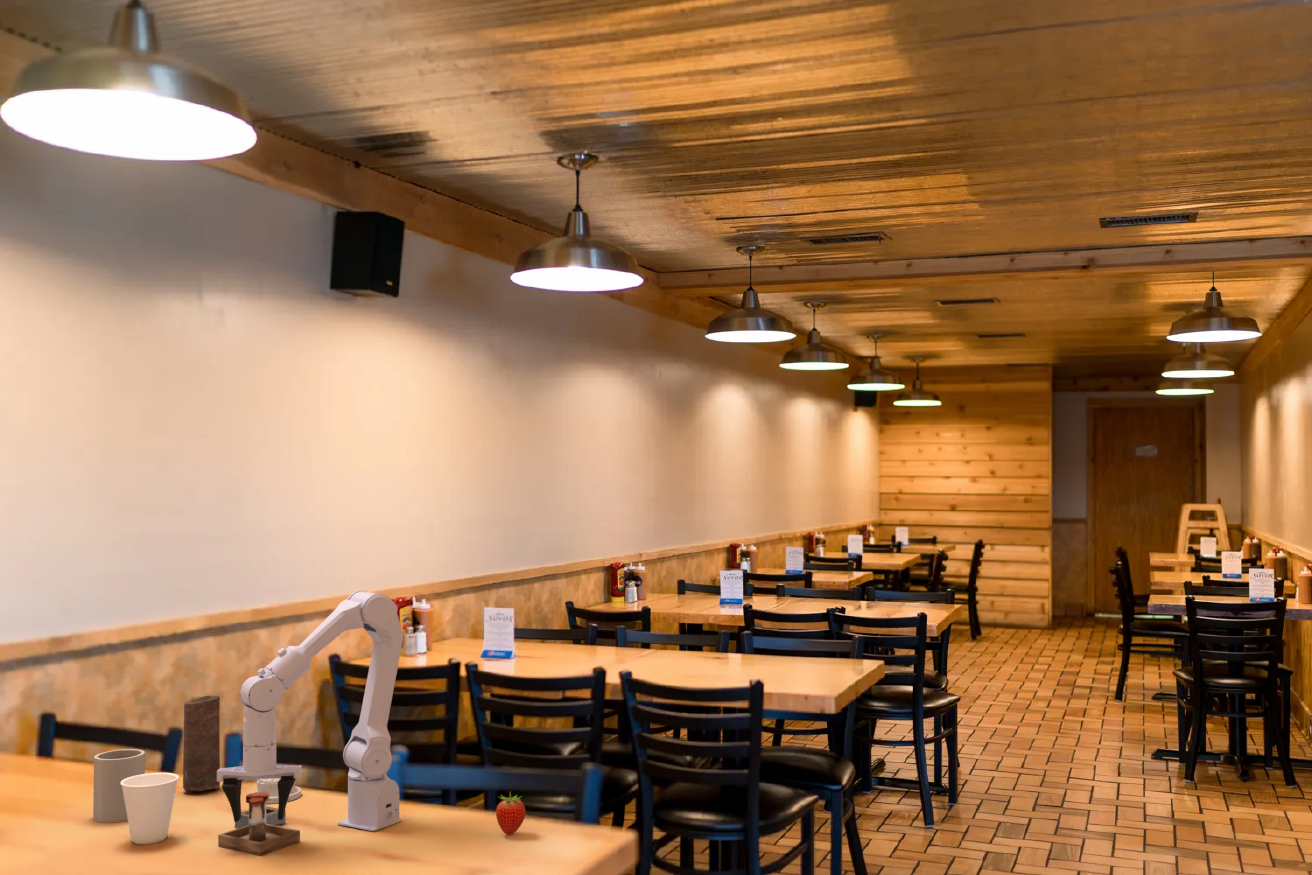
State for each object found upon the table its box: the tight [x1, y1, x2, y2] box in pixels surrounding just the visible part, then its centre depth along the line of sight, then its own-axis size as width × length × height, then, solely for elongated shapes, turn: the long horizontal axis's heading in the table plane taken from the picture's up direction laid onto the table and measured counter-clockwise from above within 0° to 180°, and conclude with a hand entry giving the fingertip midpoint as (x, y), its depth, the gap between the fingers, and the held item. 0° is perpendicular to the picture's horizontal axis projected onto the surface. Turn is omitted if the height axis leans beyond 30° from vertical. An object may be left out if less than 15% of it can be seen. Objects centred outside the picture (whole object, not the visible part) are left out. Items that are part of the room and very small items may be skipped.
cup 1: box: [92, 748, 146, 824], centre depth 227 cm, size 9×9×12 cm
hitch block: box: [234, 805, 287, 829], centre depth 219 cm, size 6×6×2 cm
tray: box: [217, 824, 301, 856], centre depth 208 cm, size 11×9×2 cm
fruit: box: [495, 791, 526, 836], centre depth 212 cm, size 5×5×8 cm
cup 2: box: [120, 772, 180, 845], centre depth 211 cm, size 10×10×11 cm
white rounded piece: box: [251, 778, 302, 805], centre depth 239 cm, size 10×4×10 cm
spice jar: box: [245, 792, 269, 842], centre depth 209 cm, size 4×4×8 cm
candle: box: [182, 694, 221, 793], centre depth 245 cm, size 8×7×20 cm
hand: (259, 819), depth 208 cm, fingers open, 7 cm apart
